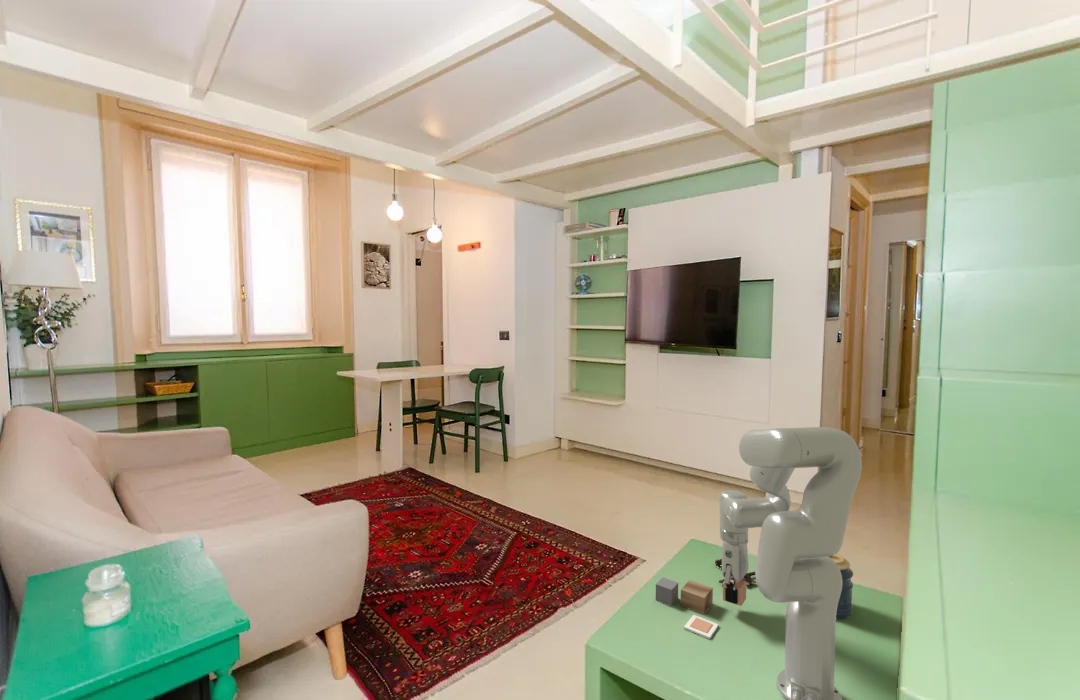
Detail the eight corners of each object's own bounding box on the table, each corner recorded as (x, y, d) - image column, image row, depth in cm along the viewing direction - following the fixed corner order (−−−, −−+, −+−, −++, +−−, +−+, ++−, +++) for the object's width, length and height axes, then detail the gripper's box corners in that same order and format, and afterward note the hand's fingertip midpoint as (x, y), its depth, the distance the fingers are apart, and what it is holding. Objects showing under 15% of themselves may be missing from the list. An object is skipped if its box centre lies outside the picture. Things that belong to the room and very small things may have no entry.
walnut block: (704, 615, 133) (704, 598, 132) (680, 606, 137) (680, 589, 137) (712, 604, 138) (712, 587, 138) (689, 595, 142) (689, 579, 142)
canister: (863, 617, 131) (865, 556, 130) (822, 622, 129) (824, 560, 128) (828, 592, 144) (829, 536, 143) (790, 596, 142) (791, 539, 141)
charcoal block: (671, 606, 137) (671, 589, 137) (655, 600, 140) (655, 584, 140) (678, 598, 141) (678, 582, 140) (662, 593, 144) (662, 577, 144)
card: (709, 639, 122) (709, 636, 122) (683, 628, 126) (683, 626, 126) (718, 626, 127) (718, 623, 127) (693, 616, 132) (693, 614, 131)
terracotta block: (741, 606, 130) (740, 588, 130) (722, 600, 133) (722, 582, 133) (746, 598, 134) (746, 581, 134) (728, 593, 137) (728, 576, 137)
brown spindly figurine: (738, 553, 164) (772, 568, 150) (739, 566, 164) (773, 582, 150) (697, 562, 157) (729, 579, 144) (698, 575, 157) (730, 593, 143)
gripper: (738, 547, 125) (739, 615, 125) (755, 529, 138) (756, 590, 138) (710, 541, 130) (711, 606, 129) (729, 523, 143) (730, 582, 143)
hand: (734, 597), depth 134 cm, fingers closed on terracotta block, 5 cm apart
